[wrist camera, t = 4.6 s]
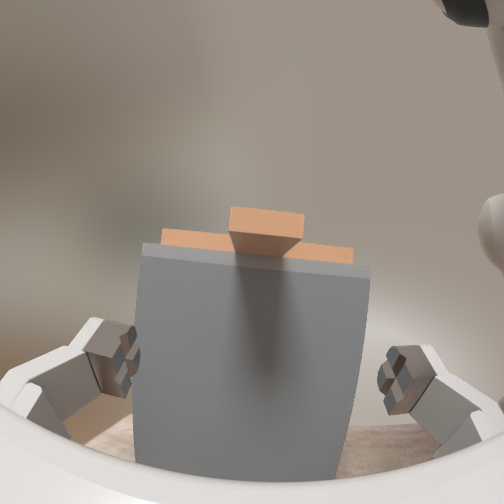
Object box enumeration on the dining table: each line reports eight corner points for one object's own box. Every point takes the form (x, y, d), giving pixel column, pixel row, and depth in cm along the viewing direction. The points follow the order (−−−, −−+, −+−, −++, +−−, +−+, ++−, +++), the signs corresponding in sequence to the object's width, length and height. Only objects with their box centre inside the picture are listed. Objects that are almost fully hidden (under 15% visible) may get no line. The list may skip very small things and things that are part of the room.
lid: (319, 274, 36) (320, 261, 37) (420, 253, 14) (420, 220, 14) (187, 261, 36) (188, 247, 36) (101, 219, 13) (108, 186, 14)
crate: (296, 448, 34) (320, 275, 38) (319, 518, 18) (370, 266, 22) (173, 436, 34) (185, 262, 38) (140, 502, 18) (143, 242, 21)
